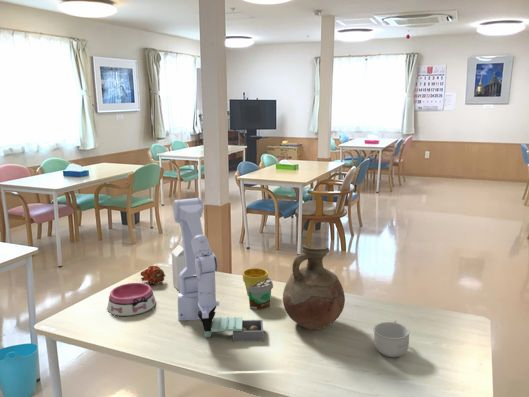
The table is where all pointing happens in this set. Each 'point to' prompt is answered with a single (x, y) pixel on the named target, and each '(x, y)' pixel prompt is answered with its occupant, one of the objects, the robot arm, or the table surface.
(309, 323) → the jug
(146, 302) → the dog bowl
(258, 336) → the tub
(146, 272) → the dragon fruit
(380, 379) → the table surface
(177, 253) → the milk carton
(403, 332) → the teacup
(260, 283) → the food container
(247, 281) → the plant pot
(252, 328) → the walnut ball
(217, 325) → the teal ridged block
